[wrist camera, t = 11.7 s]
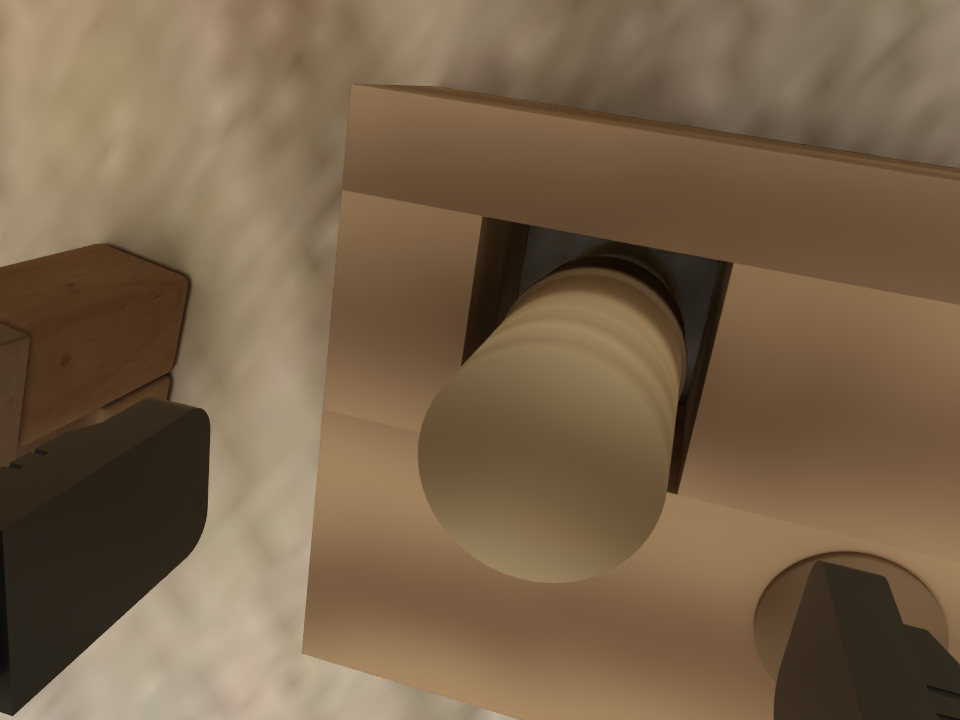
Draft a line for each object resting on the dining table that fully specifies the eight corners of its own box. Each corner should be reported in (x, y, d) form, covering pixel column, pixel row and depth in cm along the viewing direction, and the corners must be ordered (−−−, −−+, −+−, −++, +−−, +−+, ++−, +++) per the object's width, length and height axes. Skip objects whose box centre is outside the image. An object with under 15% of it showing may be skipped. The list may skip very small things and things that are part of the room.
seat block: (434, 86, 24) (346, 83, 18) (1144, 197, 21) (1312, 238, 15) (380, 546, 29) (297, 659, 23) (946, 700, 26) (1014, 879, 20)
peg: (559, 214, 24) (428, 316, 13) (708, 242, 24) (702, 374, 12) (534, 353, 26) (398, 551, 15) (675, 384, 25) (643, 618, 14)
